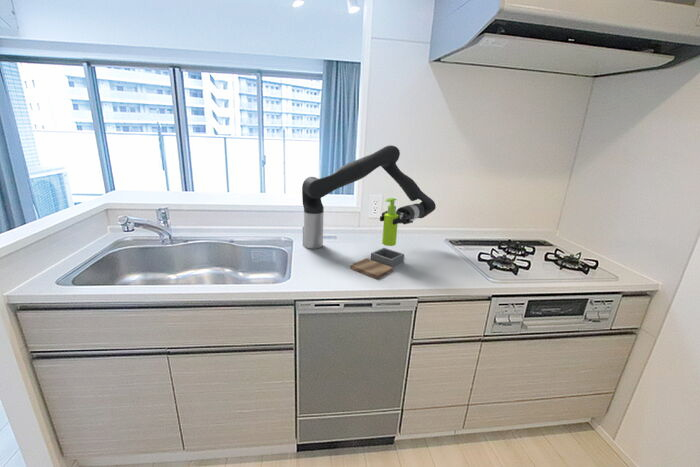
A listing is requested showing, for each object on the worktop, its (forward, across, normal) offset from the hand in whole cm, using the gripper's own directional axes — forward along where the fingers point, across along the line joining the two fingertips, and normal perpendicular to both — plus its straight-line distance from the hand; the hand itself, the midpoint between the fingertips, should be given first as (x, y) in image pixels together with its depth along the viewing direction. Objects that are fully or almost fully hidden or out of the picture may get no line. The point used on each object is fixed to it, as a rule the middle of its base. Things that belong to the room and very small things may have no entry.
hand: (387, 220), depth 132 cm
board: (+9, 0, +20) cm, 22 cm away
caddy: (-3, 0, +20) cm, 20 cm away
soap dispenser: (-2, 0, +11) cm, 11 cm away
